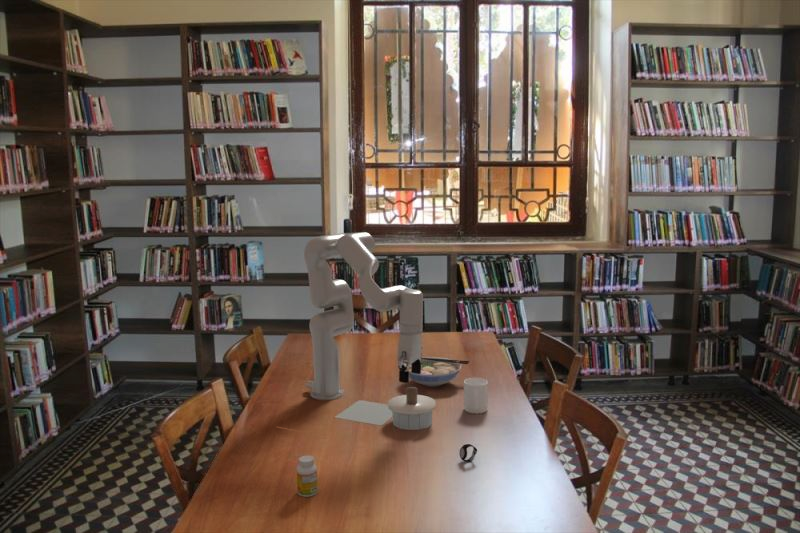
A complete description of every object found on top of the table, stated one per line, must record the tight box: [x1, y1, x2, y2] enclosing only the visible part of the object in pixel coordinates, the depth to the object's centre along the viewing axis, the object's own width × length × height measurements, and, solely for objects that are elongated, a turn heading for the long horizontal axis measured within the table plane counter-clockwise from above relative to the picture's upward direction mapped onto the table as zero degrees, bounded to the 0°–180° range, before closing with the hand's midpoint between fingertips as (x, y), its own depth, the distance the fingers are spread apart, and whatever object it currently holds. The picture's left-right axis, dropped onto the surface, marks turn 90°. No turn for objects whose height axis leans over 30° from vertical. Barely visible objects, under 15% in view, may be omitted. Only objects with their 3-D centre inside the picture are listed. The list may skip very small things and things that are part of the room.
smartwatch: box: [459, 443, 478, 463], centre depth 205 cm, size 4×5×5 cm
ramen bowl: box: [403, 356, 470, 388], centre depth 273 cm, size 25×23×8 cm
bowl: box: [391, 410, 433, 431], centre depth 234 cm, size 13×13×6 cm
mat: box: [333, 399, 392, 427], centre depth 244 cm, size 18×18×1 cm
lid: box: [387, 386, 437, 415], centre depth 234 cm, size 16×16×6 cm
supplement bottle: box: [296, 454, 319, 498], centre depth 188 cm, size 5×5×10 cm
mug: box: [463, 377, 489, 415], centre depth 243 cm, size 12×8×10 cm
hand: (410, 377), depth 233 cm, fingers open, 9 cm apart
